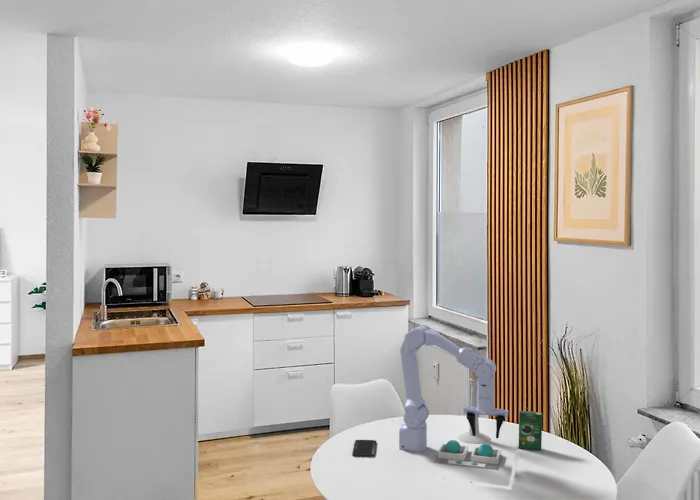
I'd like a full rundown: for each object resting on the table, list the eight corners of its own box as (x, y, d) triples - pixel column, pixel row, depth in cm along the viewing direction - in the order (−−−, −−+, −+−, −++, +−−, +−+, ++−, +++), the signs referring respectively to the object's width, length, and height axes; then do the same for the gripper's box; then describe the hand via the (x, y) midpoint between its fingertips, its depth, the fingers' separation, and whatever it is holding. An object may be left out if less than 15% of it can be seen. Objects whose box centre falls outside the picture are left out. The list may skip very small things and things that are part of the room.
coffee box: (542, 448, 222) (542, 411, 221) (542, 451, 219) (542, 414, 219) (518, 446, 224) (518, 409, 224) (518, 448, 222) (518, 412, 221)
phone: (376, 440, 230) (374, 455, 215) (376, 443, 230) (374, 458, 215) (355, 439, 231) (351, 454, 216) (355, 442, 231) (351, 457, 216)
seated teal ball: (444, 456, 212) (444, 442, 212) (447, 451, 217) (447, 437, 217) (459, 458, 210) (459, 443, 210) (461, 453, 215) (461, 438, 215)
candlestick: (496, 439, 232) (496, 358, 231) (484, 449, 221) (484, 365, 220) (464, 433, 239) (464, 355, 238) (451, 443, 228) (450, 361, 227)
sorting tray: (433, 465, 207) (433, 456, 207) (441, 451, 220) (441, 442, 220) (498, 473, 200) (498, 463, 200) (502, 457, 213) (502, 449, 213)
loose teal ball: (476, 460, 209) (476, 445, 208) (479, 455, 213) (479, 440, 213) (492, 462, 207) (492, 447, 206) (494, 457, 211) (494, 442, 211)
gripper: (462, 397, 208) (462, 437, 208) (506, 401, 203) (506, 442, 204) (465, 392, 215) (465, 431, 215) (508, 395, 210) (508, 435, 210)
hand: (485, 436), depth 210 cm, fingers open, 7 cm apart
